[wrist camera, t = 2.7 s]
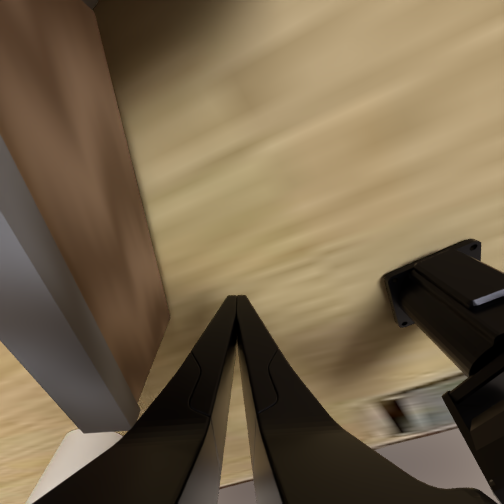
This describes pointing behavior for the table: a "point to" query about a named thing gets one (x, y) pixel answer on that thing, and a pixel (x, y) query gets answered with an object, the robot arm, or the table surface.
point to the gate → (72, 221)
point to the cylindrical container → (72, 458)
